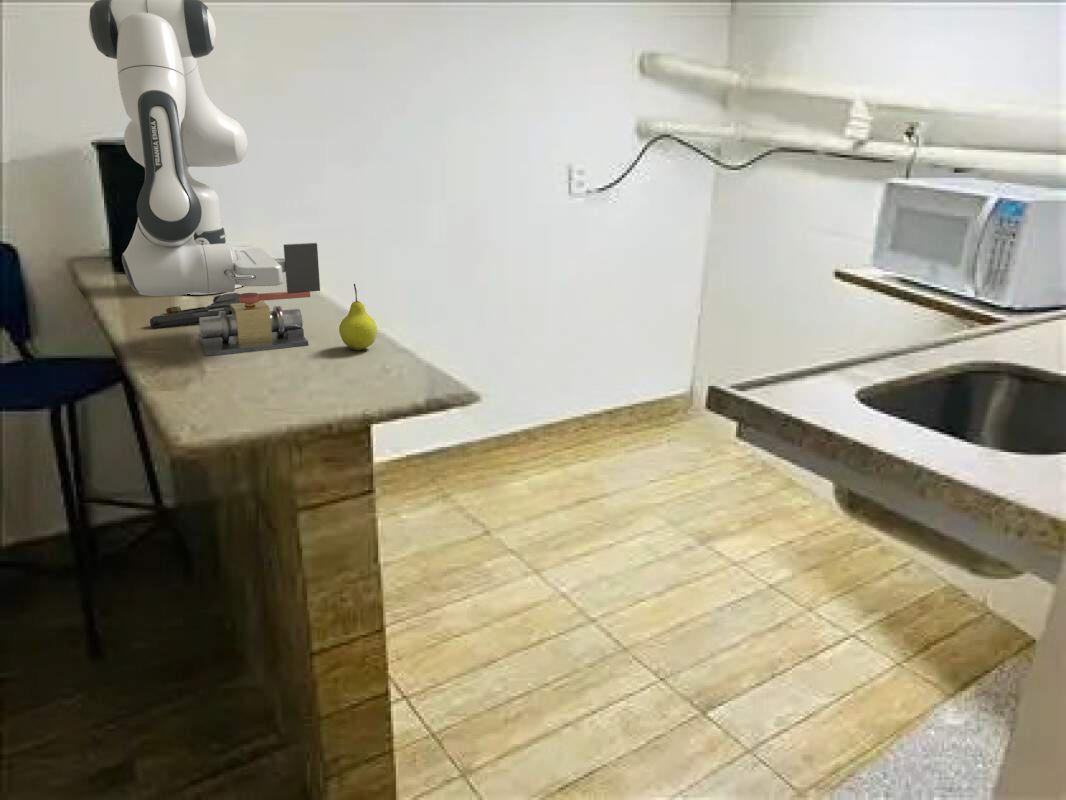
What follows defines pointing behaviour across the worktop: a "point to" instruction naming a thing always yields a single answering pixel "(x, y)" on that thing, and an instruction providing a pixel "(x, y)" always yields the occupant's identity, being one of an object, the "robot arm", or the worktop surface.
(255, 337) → the valve
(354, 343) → the fruit
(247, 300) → the lever
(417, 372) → the worktop surface
